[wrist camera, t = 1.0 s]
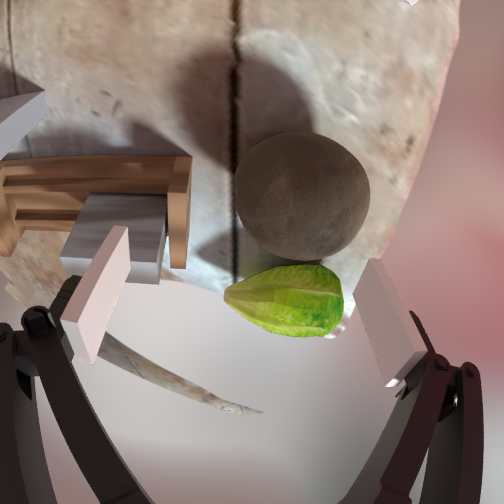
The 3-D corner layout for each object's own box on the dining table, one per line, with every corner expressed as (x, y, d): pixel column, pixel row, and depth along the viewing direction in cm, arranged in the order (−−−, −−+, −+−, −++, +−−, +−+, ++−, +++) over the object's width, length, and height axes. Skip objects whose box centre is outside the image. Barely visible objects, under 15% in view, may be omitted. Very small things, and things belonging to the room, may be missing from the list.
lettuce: (233, 235, 47) (236, 300, 38) (347, 251, 51) (368, 309, 43) (217, 289, 56) (218, 347, 48) (316, 298, 61) (328, 350, 53)
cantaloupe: (291, 217, 45) (312, 301, 35) (210, 169, 38) (206, 255, 28) (360, 151, 37) (411, 226, 27) (281, 85, 30) (315, 139, 20)
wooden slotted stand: (1, 160, 31) (-50, 224, 22) (192, 156, 36) (180, 232, 27) (21, 221, 40) (-14, 286, 30) (189, 228, 45) (182, 307, 35)
